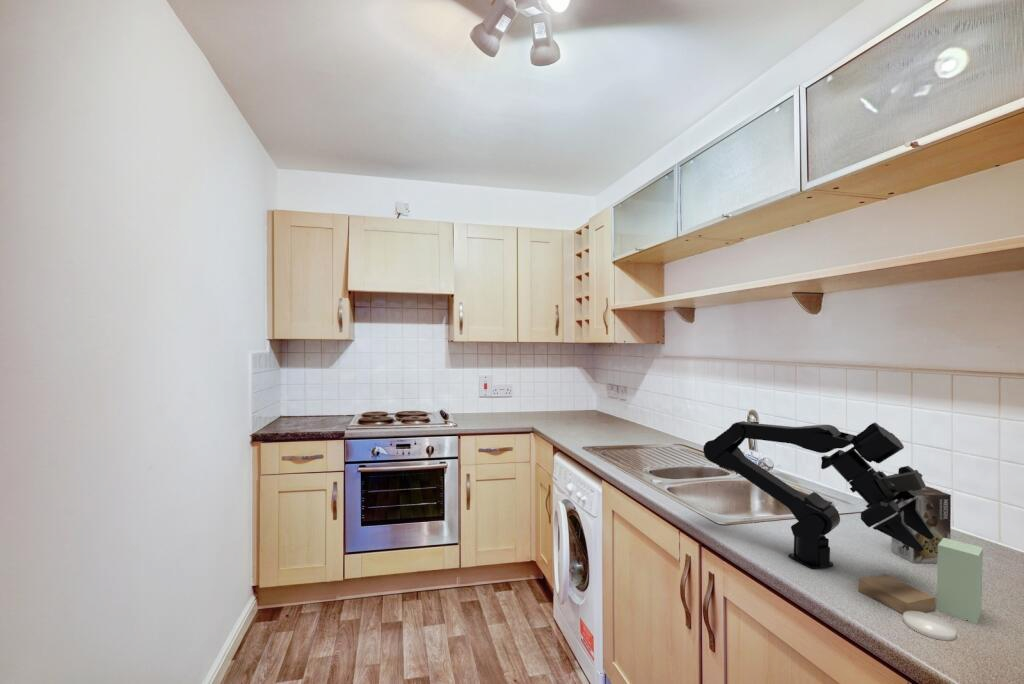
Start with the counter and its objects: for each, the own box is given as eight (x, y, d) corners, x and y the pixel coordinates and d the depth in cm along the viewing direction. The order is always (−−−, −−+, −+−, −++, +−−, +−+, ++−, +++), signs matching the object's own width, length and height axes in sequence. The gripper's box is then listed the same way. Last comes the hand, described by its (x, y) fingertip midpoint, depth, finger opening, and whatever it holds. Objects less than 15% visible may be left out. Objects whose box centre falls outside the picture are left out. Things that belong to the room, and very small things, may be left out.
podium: (858, 590, 94) (858, 578, 94) (884, 585, 97) (885, 574, 97) (907, 616, 86) (907, 603, 86) (935, 610, 88) (935, 597, 88)
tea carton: (936, 610, 88) (938, 544, 88) (942, 600, 92) (943, 537, 92) (977, 624, 84) (978, 555, 84) (981, 613, 87) (983, 547, 87)
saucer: (893, 619, 85) (893, 613, 85) (920, 613, 87) (920, 608, 87) (938, 643, 78) (938, 637, 78) (966, 636, 80) (966, 630, 80)
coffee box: (925, 551, 114) (927, 485, 114) (951, 563, 107) (953, 494, 107) (889, 551, 113) (891, 485, 113) (913, 563, 107) (914, 494, 107)
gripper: (881, 461, 90) (959, 537, 81) (905, 448, 101) (975, 513, 93) (833, 491, 96) (901, 564, 87) (861, 475, 107) (922, 539, 99)
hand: (927, 544), depth 91 cm, fingers open, 9 cm apart
